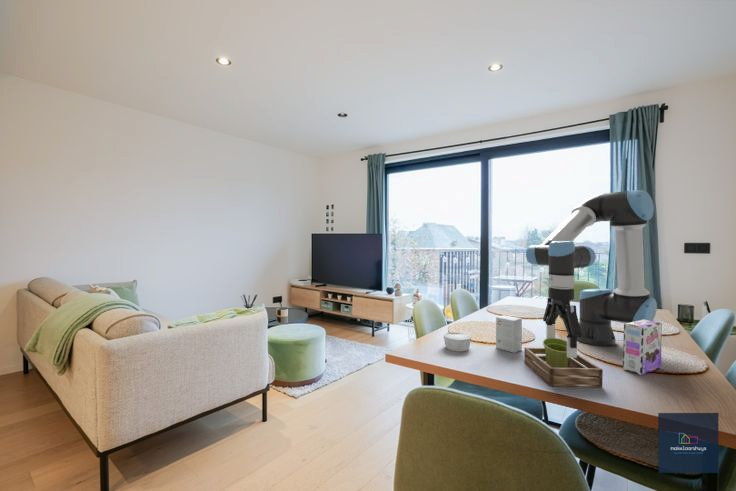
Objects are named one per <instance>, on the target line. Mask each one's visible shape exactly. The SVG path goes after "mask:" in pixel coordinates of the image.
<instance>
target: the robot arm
mask: <svg viewBox="0 0 736 491" xmlns="http://www.w3.org/2000/svg"><path fill="white" fill-rule="evenodd" d="M654 206H655V205H654V202H653V199H652V197H651V195H650V194H649V193H648V192H647V191H645V190H642V189H639V190H638V189H637V190H635V189H634V190H631V189H630V190H625V191H615V192H607V193H606V192H604V193H603V192H602V193H599V194H596V195H593V196H591V197H589V198H587V199H585V200H583V201H582V202H580V203H579V204H578V205H576V206H575V207H574V208H573V209H572V210H571V214H570V215H569V216H568V217H567V218H566V219H565V220H564V221H563V222H562V223H561V224H560V225H559V226H558V227H557V228H556V229H555V230H554V231H552V232H551V233H550V235H548V236H547V237H546V238H545V239H544V240H543V241H541V243H540V244H538V245H537V244H534V245H528V247H527V248H526V250H525V251H526V252H525V258H526V262H528V263H529V264H532V265H538V266H546V267H547V266H548V277H547V280H548V286H549V287H548V288H547V289H548V294H547V295H548V296H547V302H546V307H545V311H544V314H543V317H542V318H543V319H542V320H543V322H544V323H545V325H546V330H545V331H546V338H545V339H547V338H556V321H557V319H558V318H559V317H560V318H561V319H562V321H563V324H564V326H565V331H566V332H567V335H566V341H567V357H568V358H572V359H573V358H577V354H578V342H580V343H583V344H584V343H585V344H588V345H593V346H599V345H601V346H602V347H611V346H614V345H615V346H616V344H617V343H616V336H615V333H614V330H613V328H612V321H613V322H617V323H622V324H624V323H630V322H635V321H639V320H642V319H644V320H650V321H654V319H655V317H656V314H657V311H658V310H657V308H658V303H657V300H656V299H655V298H653V297H651V296H650V295H651V294H650V293H651V292H650V291H649V290H648V289H646V287H645V268H644V267H645V266H644V265H645V263H644V240H643V235H644V234H643V228H645V227H646V226H647V225H648V221H650V220H652V218H653V217H654V212H655V207H654ZM600 222H610V223H609V224H610V227H611V228H612V229H614V231H615V234H614V235H615V250H616V251H615V255H616V258H615V259H616V278H617V287H616V288H615V289H614V290H613V291H612V289H611V288H587V289H582V290H580V292H579V316H578V313H577V306H576V305H573V304H572V305H571V301H573V300H574V299H575V289H574V287H575V269H584V268H588V267H591V266H592V265H593V264H594V263H595V262H596V259H597V255H596V253H595V250H594V249H593V248H591V247H589V246H586V245H578V246H577V245H575V243H574V240H576V238H577V237H578V236H580V234H582V232H583V231H585V230H586V228H588V227H591V226H593V225H594V224H595V223H600ZM601 346H600V347H601Z"/></svg>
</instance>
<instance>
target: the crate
mask: <svg viewBox="0 0 736 491" xmlns="http://www.w3.org/2000/svg"><path fill="white" fill-rule="evenodd" d="M523 350H524V354H523V355H524V356H523V358H524V359H523V363H524V365H526V366H528V367H529V369H531V370H532V371H533V372H534V373H535V374H536V375H537V376H539V378H540V379H541V380H543V382H544V383H546V384H547V385H548V386H549V387H556V386H560V387H559V388H561V387H562V386H563V387H564V388H601V389H602V388H603V379H604V378H603V372H604V370H603V369H602V368H601V367H599V366H598V365H596V364H595V363H593V362H591V361H590V360H588V359H587V358H584V357H583V356H581V355H580V354H578V353H577V358H569V361H568V365H567V368H552V367H551V366H549V365H548V364H547V363H546V354H545V348H544V347H524V349H523ZM563 387H562V388H563Z"/></svg>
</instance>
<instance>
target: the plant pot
mask: <svg viewBox="0 0 736 491" xmlns="http://www.w3.org/2000/svg"><path fill="white" fill-rule="evenodd" d="M542 345H543V348H545V354H544V355H545V356H546V363H547V364H548V365H549V366H551V367H552V368H567V365H568V361H569V358H568V357H567V340H565V339H562V338H557V337H555V338H547V339H546V338H545V339H543V341H542Z"/></svg>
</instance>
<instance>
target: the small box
mask: <svg viewBox="0 0 736 491" xmlns="http://www.w3.org/2000/svg"><path fill="white" fill-rule="evenodd" d="M522 321H523V319H522V318H521V317H517V316H510V315H505V314H503V315H499V316H496V317H495V322H496V323H495V348H496V349H499V350H503V351H506V352H510V353H517V352H519V351H522V348H523V347H522V346H523V339H522V338H523V323H522Z"/></svg>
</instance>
